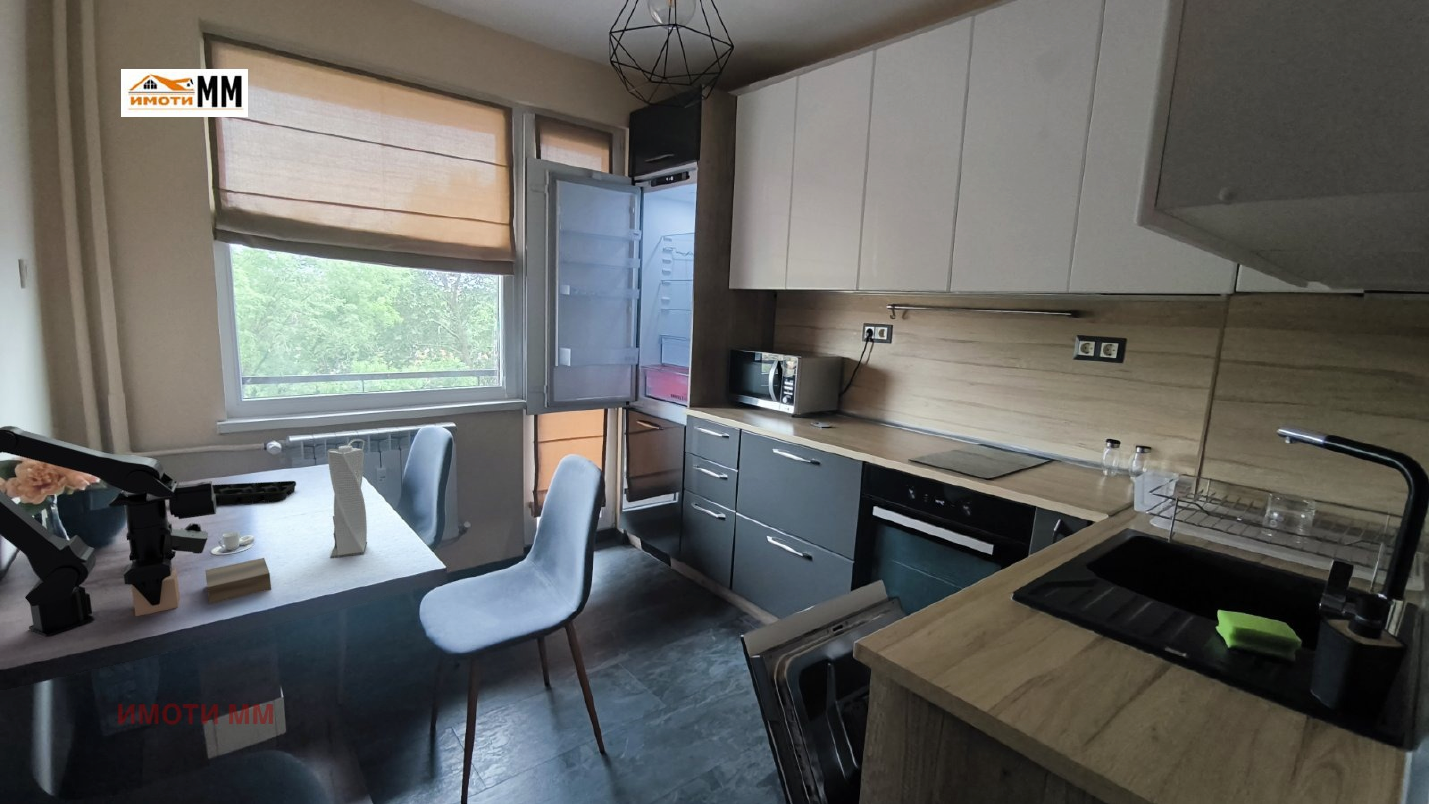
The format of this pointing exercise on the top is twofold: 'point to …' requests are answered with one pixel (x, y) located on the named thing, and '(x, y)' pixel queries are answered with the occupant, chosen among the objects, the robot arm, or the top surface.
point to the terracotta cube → (166, 601)
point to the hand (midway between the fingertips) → (157, 598)
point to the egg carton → (253, 492)
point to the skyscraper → (348, 500)
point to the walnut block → (237, 580)
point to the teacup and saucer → (233, 543)
